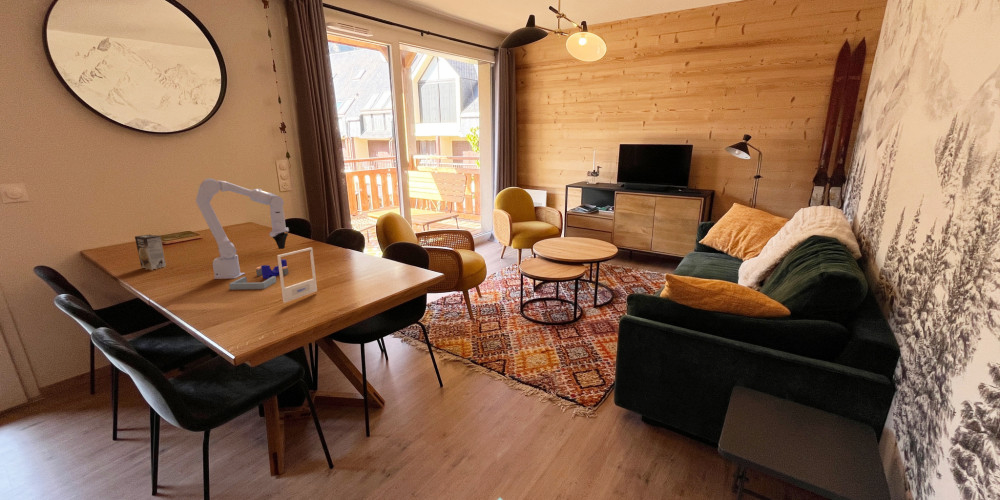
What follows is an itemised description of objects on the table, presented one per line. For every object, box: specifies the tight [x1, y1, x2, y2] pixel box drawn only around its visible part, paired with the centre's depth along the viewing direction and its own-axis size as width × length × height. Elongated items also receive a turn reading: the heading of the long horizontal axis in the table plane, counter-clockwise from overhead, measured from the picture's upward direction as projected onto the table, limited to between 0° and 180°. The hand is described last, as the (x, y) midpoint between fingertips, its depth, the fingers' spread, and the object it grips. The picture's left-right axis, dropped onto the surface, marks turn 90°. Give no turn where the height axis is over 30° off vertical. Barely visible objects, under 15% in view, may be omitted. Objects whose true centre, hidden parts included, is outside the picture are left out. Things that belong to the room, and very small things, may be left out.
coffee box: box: [134, 234, 167, 271], centre depth 195 cm, size 9×6×16 cm
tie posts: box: [255, 265, 290, 277], centre depth 184 cm, size 13×3×4 cm, turn 93°
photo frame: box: [276, 247, 318, 304], centre depth 153 cm, size 15×1×18 cm, turn 155°
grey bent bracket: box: [228, 276, 277, 291], centre depth 169 cm, size 14×10×2 cm
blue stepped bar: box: [260, 258, 288, 280], centre depth 184 cm, size 12×4×6 cm, turn 169°
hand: (281, 248), depth 193 cm, fingers closed
